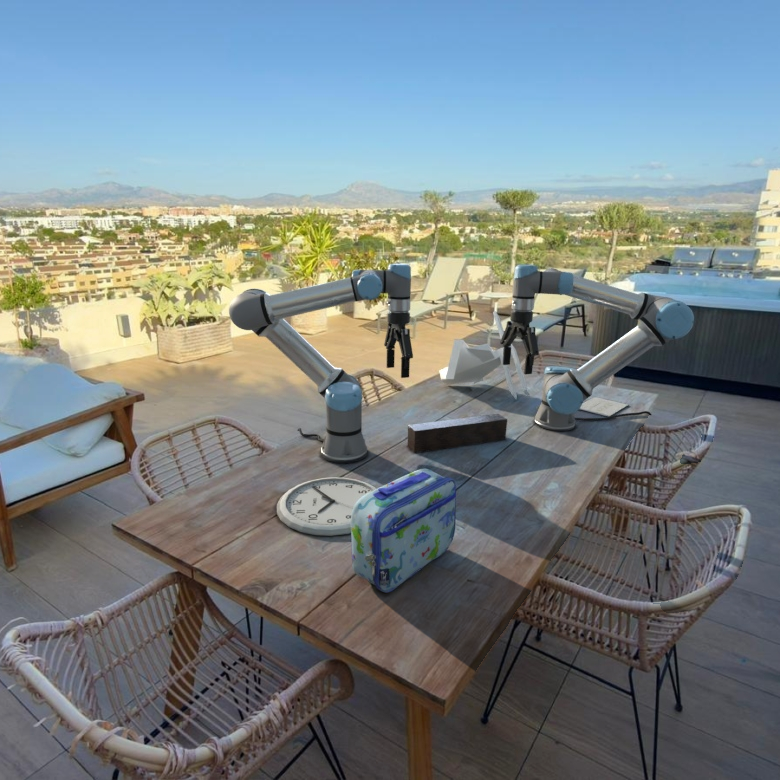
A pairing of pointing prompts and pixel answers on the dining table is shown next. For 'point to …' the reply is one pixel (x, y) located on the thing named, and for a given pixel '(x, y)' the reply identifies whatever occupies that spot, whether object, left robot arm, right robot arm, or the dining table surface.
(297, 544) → the dining table surface
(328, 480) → the wall clock
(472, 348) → the white plastic object
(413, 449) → the walnut beam
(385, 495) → the lunch box
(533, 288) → the right robot arm
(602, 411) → the invitation card
